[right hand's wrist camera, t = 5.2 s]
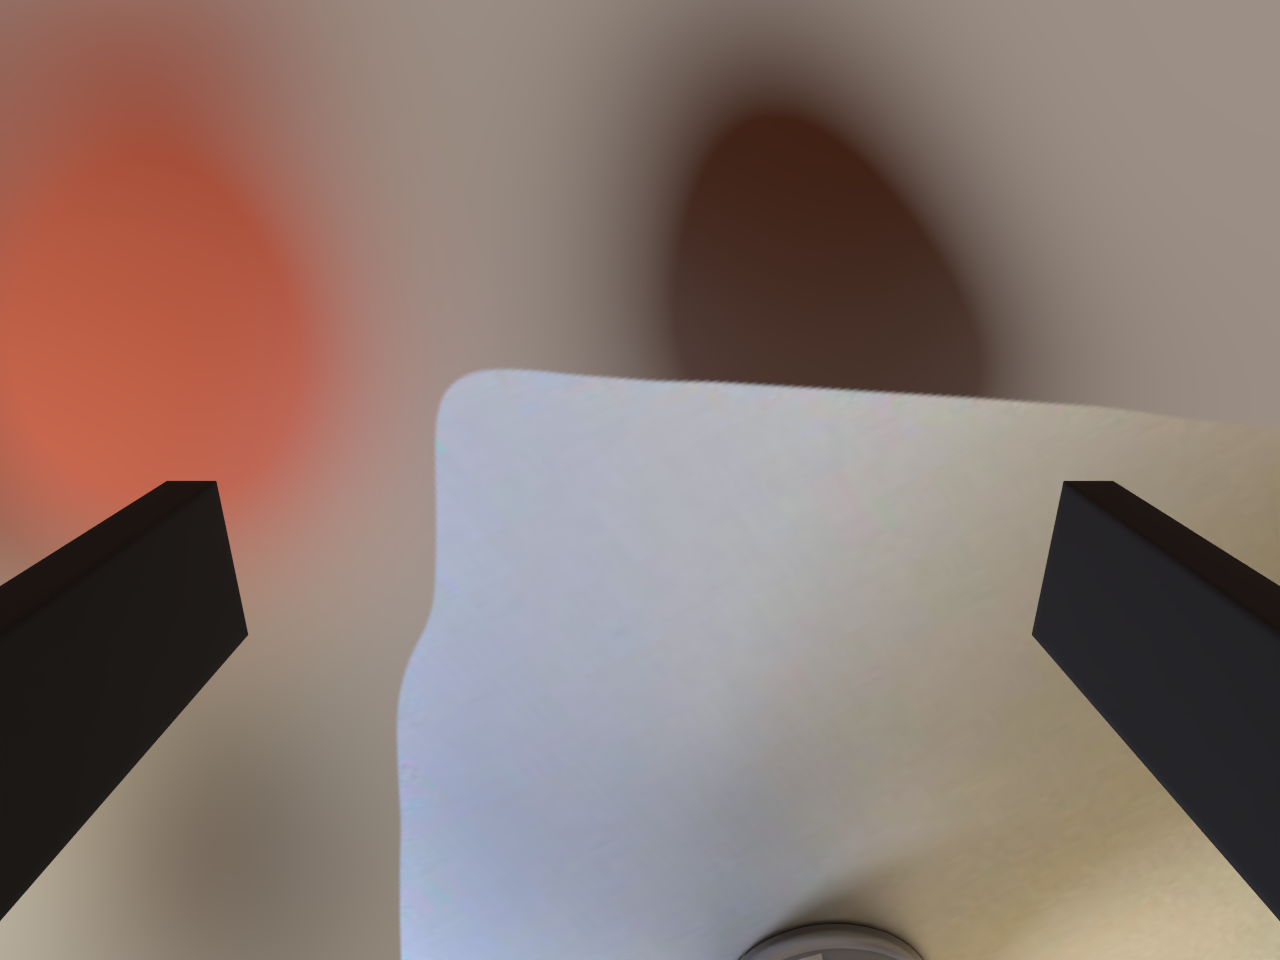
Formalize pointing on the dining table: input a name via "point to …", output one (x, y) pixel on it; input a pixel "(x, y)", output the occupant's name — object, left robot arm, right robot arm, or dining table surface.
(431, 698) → the dining table surface
